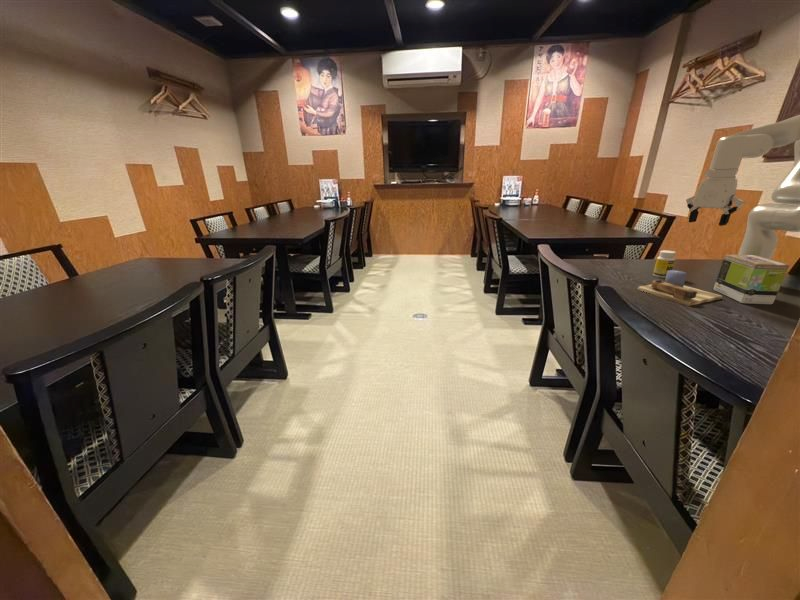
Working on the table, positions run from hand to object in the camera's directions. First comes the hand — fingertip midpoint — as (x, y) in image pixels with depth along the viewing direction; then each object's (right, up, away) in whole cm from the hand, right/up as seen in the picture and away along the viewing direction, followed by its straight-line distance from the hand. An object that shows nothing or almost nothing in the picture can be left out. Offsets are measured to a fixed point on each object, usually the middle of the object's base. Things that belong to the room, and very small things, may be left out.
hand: (706, 223), depth 120 cm
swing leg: (-11, -25, +3) cm, 28 cm away
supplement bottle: (+5, -18, +26) cm, 32 cm away
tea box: (+14, -28, +1) cm, 31 cm away
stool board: (-6, -26, +6) cm, 28 cm away
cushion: (-4, -23, +10) cm, 26 cm away
